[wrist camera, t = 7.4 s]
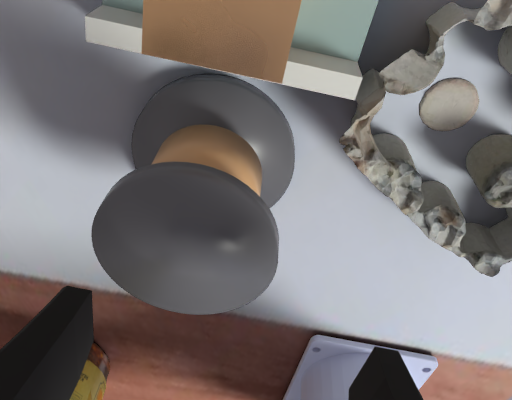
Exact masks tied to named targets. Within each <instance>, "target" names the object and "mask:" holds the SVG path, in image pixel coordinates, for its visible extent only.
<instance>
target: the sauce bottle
mask: <svg viewBox="0 0 512 400" xmlns="http://www.w3.org/2000/svg"><path fill="white" fill-rule="evenodd" d="M109 370H110V365H109V359H108V356H107V355H106V354H104V352H103V351H102V350H101V348H100V347H99V346H98V345H96V344H95V343H93V344H92V347H91V349H90V352H89V355H88V358H87V360H86V363H85V366H84V368H83V371H82V374H81V376H80V379H79V381H78V383H77V385H76V387H75V390H74V392H73V394H72V396H71V398H70V400H102V398H103V395H104V392H105V389H106V380H107V376H108V374H109Z"/></svg>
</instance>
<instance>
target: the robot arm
mask: <svg viewBox="0 0 512 400" xmlns="http://www.w3.org/2000/svg"><path fill="white" fill-rule="evenodd" d="M93 341H94V336H93V308H92V291H90V290H85V289H80V288H75V287H70V286H66V287H64V288H62V289H61V291H60V292H59V293H58V294H57V295H56V296H55V297H54V298H53V299H52V300H51V301H50V302H49V303H48V304H47V305H46V306H45V307H44V308H43V309H42V310H41V311H40V312H39V313H38V314H37V315H36V316H35V317H34V318H33V319H32V320H31V321H30V322H29V323H28V324H27V325H26V326H25V327H24V328H23V329H22V330H21V331H20V332H19V333H18V334H17V335H16V336H15V337H14V338H12V339H11V340H10V341H9V342H8V343H7V344H6V345H5V346H4V347H3V348H2V349H1V350H0V400H70V398H71V396H72V394H73V392H74V390H75V387H76V385H77V383H78V381H79V379H80V376H81V374H82V371H83V368H84V366H85V363H86V360H87V358H88V355H89V352H90V349H91V347H92V344H93ZM437 366H438V362H437V358H436V357H434V356H430V355H425V354H420V353H414V352H409V351H403V350H398V349H393V348H387V347H382V346H377V345H371V344H366V343H360V342H355V341H350V340H344V339H339V338H334V337H328V336H323V335H315V336H313V337H311V339H310V341H309V343H308V345H307V347H306V350H305V352H304V354H303V356H302V358H301V361H300V363H299V365H298V367H297V369H296V372H295V374H294V376H293V378H292V380H291V383H290V385H289V387H288V389H287V391H286V394H285V396H284V398H283V400H423V398H422V396H421V394H420V392H419V389H420V388H421V386H422V385H423V384H424V383H425V381H426V380H427V379H428V378H429V376H430V375H431V374H432V373H433V371H434V370H435V369H436V368H437Z"/></svg>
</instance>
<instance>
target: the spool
mask: <svg viewBox="0 0 512 400" xmlns="http://www.w3.org/2000/svg"><path fill="white" fill-rule="evenodd" d="M132 155H133V160H134V164H135V167H136V170H134V171H132V172H130V173H128V174H127V175H126V176H124V177H123V178H121V179H120V180H119V181H118V182H117V183H116V184H115V185H114V186H113V187H112V188H111V190H110V191H109V193H108V194H107V196H106V197H105V199H104V201H103V202H102V204H101V206H100V207H99V209H98V211H97V213H96V215H95V218H94V221H93V225H92V243H93V248H94V251H95V254H96V256H97V258H98V260H99V262H100V264H101V266H102V267H103V269H104V270H105V271H106V273H107V274H108V275H109V276H110V277H111V279H112V280H114V281H115V282H116V283H117V284H118V285H119V286H120V287H121V288H123V289H124V290H125V291H127V292H128V293H130V294H131V295H133V296H134V297H136V298H138V299H140V300H142V301H144V302H146V303H148V304H150V305H153V306H155V307H158V308H161V309H165V310H168V311H173V312H177V313H184V314H195V315H206V314H217V313H222V312H227V311H231V310H234V309H237V308H240V307H242V306H244V305H246V304H248V303H250V302H251V301H253V300H255V299H256V298H257V297H258V296H259V295H261V294H262V293H263V292H264V291H265V290H266V288H267V287H268V286H269V284H270V283H271V281H272V280H273V277H274V275H275V273H276V269H277V264H278V246H279V235H278V228H277V225H276V222H275V219H274V217H273V215H272V213H271V211H270V209H269V208H271V207H272V206H273V205H274V204H275V203H276V202H277V201H278V200H279V199H280V198H281V197H282V195H283V194H284V193H285V191H286V189H287V188H288V186H289V184H290V181H291V178H292V175H293V170H294V160H295V148H294V139H293V135H292V131H291V128H290V126H289V123H288V121H287V119H286V118H285V116H284V114H283V112H282V111H281V110H280V109H279V107H278V106H277V105H276V104H275V103H274V102H273V101H272V100H271V99H270V98H269V97H268V96H267V95H266V94H264V93H263V92H262V91H261V90H259V89H257V88H256V87H254V86H252V85H251V84H249V83H246V82H244V81H242V80H239V79H236V78H232V77H229V76H224V75H217V74H200V75H192V76H188V77H184V78H181V79H179V80H176V81H174V82H172V83H170V84H168V85H166V86H165V87H163V88H162V89H161V90H159V91H158V92H157V93H156V94H155V95H154V96H153V97H152V98H151V99H150V100H149V102H148V103H147V105H146V106H145V108H144V109H143V111H142V113H141V114H140V116H139V117H138V119H137V122H136V124H135V127H134V130H133V134H132Z"/></svg>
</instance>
